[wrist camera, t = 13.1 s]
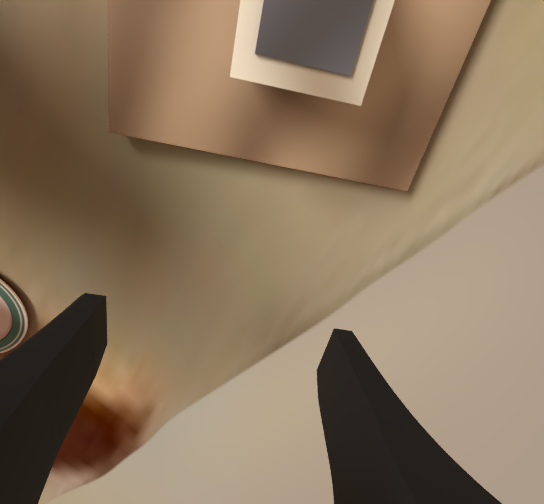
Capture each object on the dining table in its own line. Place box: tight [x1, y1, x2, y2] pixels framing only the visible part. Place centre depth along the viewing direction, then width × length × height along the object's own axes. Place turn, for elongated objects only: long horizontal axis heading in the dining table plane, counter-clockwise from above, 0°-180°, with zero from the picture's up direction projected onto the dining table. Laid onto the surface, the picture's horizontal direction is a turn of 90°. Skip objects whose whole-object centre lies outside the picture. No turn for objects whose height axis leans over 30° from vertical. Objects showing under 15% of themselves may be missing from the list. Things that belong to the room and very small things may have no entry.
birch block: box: [230, 0, 395, 106], centre depth 12 cm, size 4×4×5 cm
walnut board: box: [108, 0, 491, 191], centre depth 15 cm, size 14×12×1 cm
